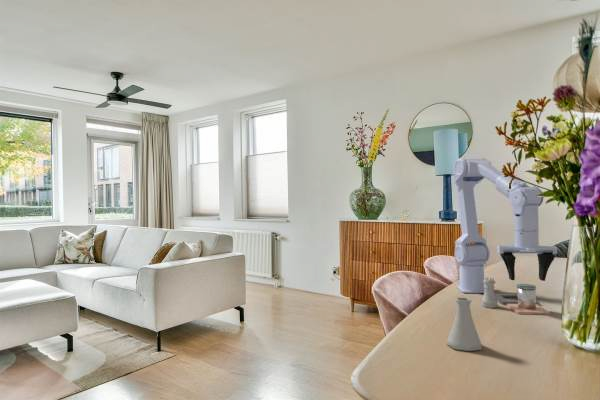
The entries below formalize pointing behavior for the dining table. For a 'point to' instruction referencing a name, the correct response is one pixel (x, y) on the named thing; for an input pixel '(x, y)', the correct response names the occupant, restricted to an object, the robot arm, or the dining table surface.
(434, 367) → the dining table surface
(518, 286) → the glass jar
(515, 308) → the tile
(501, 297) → the bore plate
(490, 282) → the rook chess piece
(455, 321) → the flask
